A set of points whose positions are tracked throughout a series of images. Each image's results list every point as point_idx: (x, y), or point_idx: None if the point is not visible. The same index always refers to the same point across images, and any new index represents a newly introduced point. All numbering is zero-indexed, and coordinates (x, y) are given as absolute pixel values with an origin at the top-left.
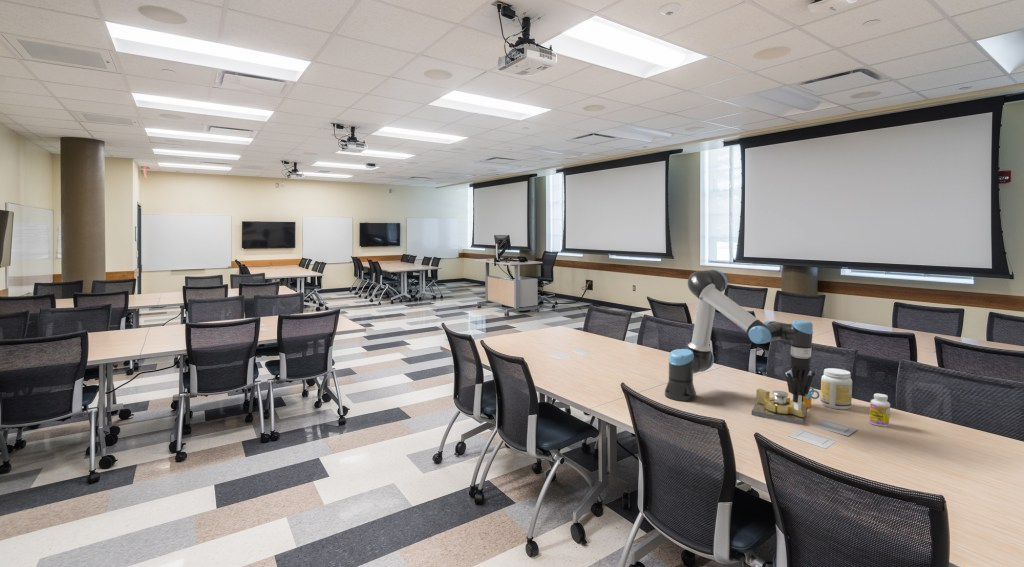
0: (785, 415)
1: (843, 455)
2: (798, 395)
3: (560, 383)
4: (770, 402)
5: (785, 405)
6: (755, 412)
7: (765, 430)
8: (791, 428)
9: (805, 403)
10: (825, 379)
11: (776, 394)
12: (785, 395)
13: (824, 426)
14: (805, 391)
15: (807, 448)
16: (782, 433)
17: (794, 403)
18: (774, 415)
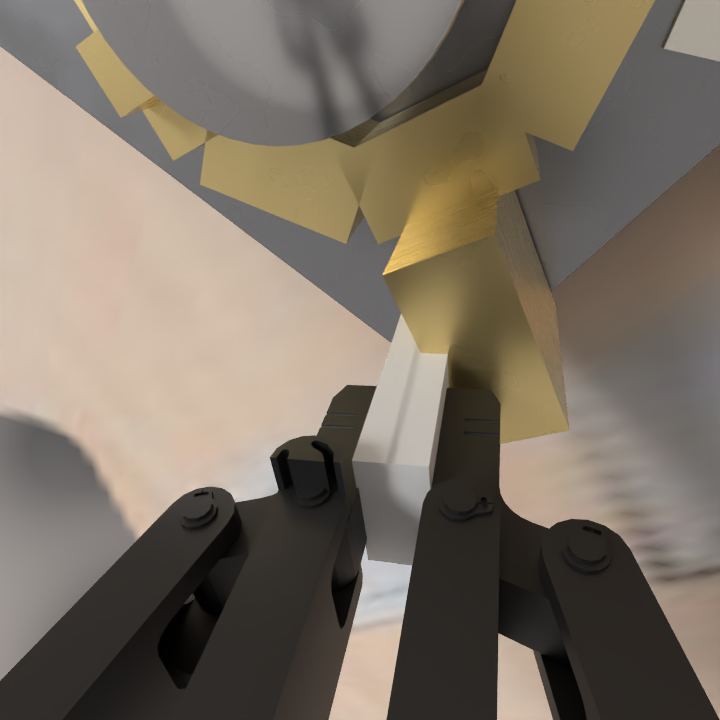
0: None
1: (387, 685)
2: (377, 539)
3: None
4: (100, 63)
5: (351, 148)
6: (10, 45)
7: (83, 394)
8: (295, 396)
9: (552, 429)
10: None
11: (114, 42)
12: (312, 139)
13: (661, 409)
14: (541, 661)
15: None
16: (186, 453)
17: (395, 343)
18: (203, 195)
